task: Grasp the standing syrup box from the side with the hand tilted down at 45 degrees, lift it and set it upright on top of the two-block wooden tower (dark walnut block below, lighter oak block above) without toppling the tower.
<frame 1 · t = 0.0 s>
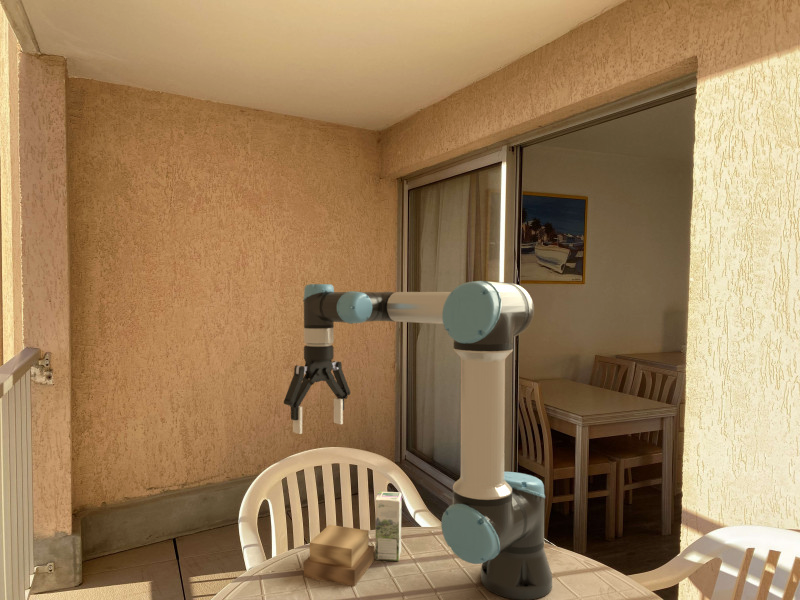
hand: (318, 428, 144), 28 cm above the table, tool pointing down, fingers open, 13 cm apart
syrup box: (388, 556, 135), on the table
oak block: (339, 553, 128), point 3 cm above the table, touching walnut block
walnut block: (339, 571, 128), on the table, touching oak block
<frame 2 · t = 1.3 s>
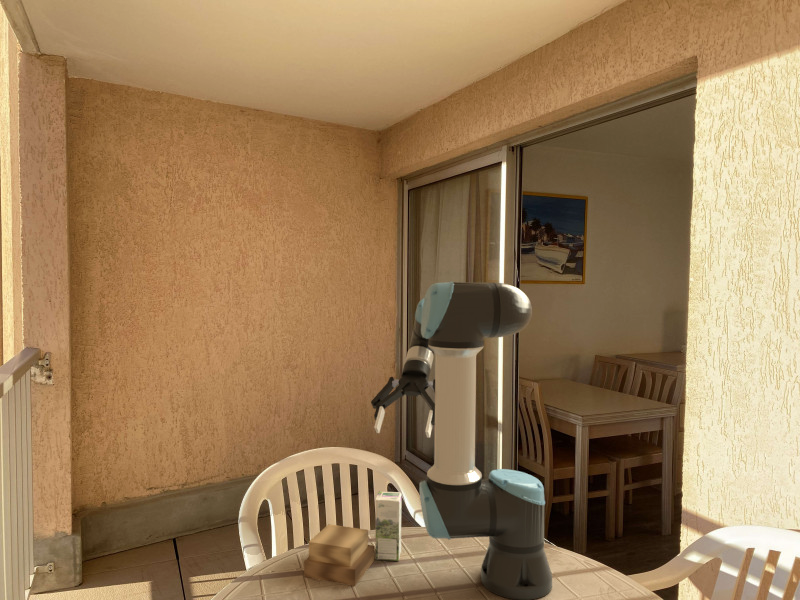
hand: (401, 432, 145), 27 cm above the table, tool tilted 45°, fingers open, 13 cm apart
nothing on the table moved.
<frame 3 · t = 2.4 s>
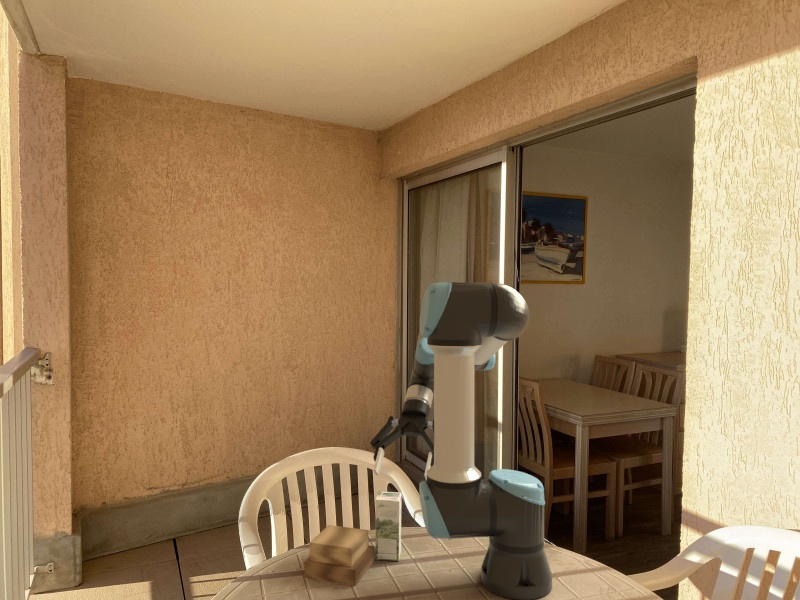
hand: (400, 475, 144), 16 cm above the table, tool tilted 45°, fingers open, 13 cm apart
nothing on the table moved.
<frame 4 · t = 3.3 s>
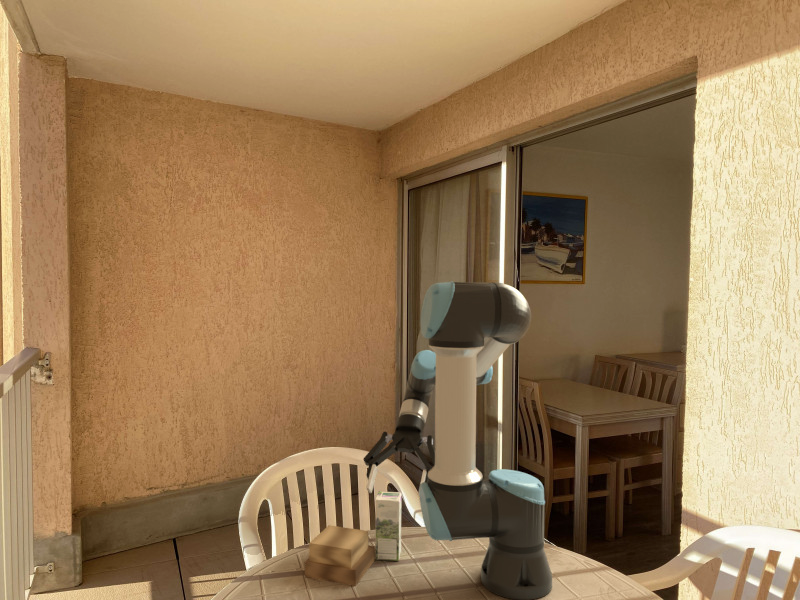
hand: (394, 493, 141), 13 cm above the table, tool tilted 45°, fingers open, 13 cm apart
oak block: (339, 554, 128), point 3 cm above the table
walnut block: (340, 571, 128), on the table
everything else where it was.
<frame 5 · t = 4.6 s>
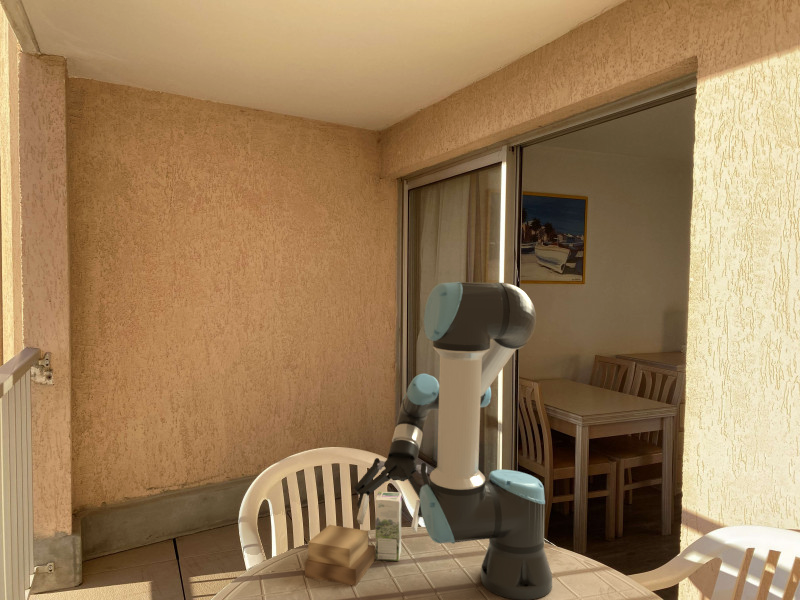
hand: (386, 525, 134), 7 cm above the table, tool tilted 45°, fingers open, 13 cm apart
oak block: (338, 553, 128), point 3 cm above the table, touching walnut block
walnut block: (340, 570, 128), on the table, touching oak block
everything else where it was.
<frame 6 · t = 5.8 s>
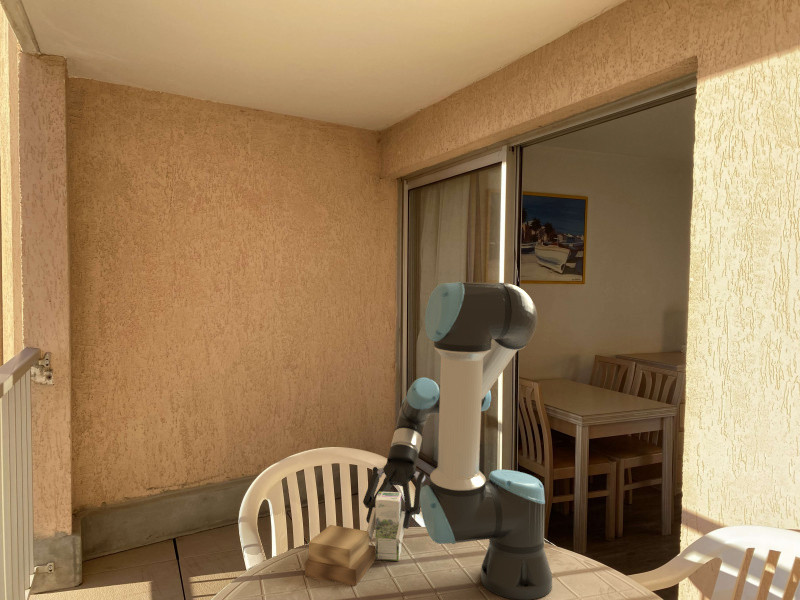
hand: (383, 538, 131), 5 cm above the table, tool tilted 45°, fingers closed on syrup box, 7 cm apart
syrup box: (388, 556, 135), on the table, touching gripper
everything else where it was.
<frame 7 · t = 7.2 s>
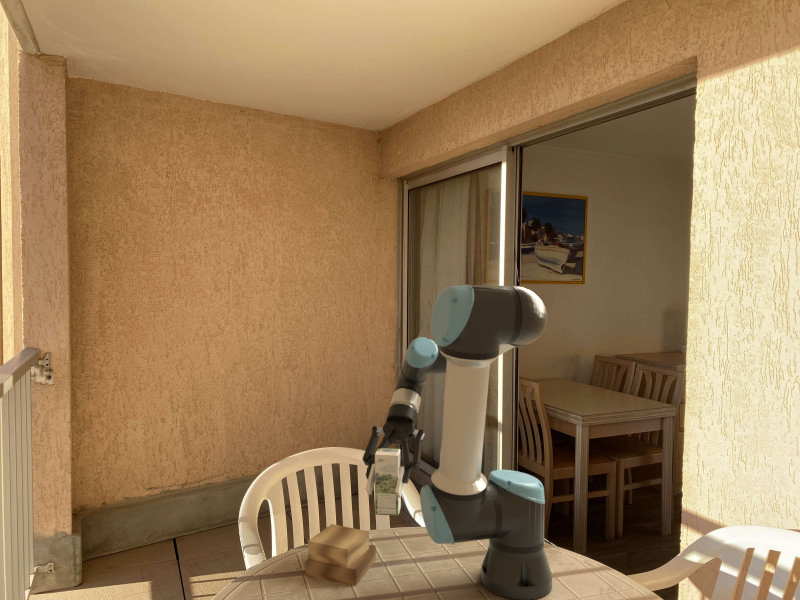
hand: (383, 493, 132), 16 cm above the table, tool tilted 45°, fingers closed on syrup box, 7 cm apart
syrup box: (388, 512, 135), point 10 cm above the table, touching gripper
oak block: (339, 553, 128), point 3 cm above the table
walnut block: (341, 570, 128), on the table
when the fingers open (15 cm above the table, at t = 10.7 s): syrup box drops 2 cm, point 8 cm above the table.
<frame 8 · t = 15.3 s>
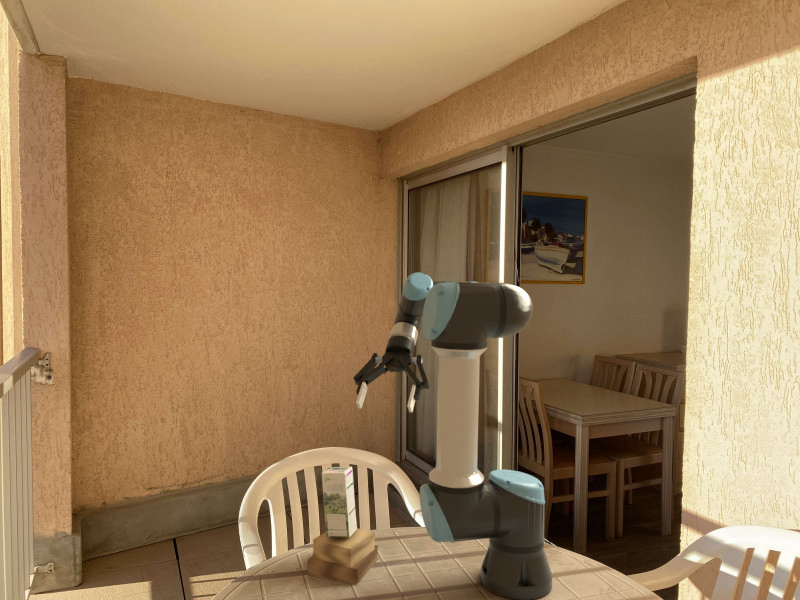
hand: (383, 407, 142), 34 cm above the table, tool tilted 45°, fingers open, 13 cm apart
syrup box: (341, 534, 129), point 8 cm above the table
oak block: (344, 553, 128), point 3 cm above the table, touching walnut block
walnut block: (343, 570, 129), on the table, touching oak block
at the end: syrup box point 7.5 cm above the table; syrup box 0.6 cm from the oak block (horizontally); oak block tilted 0° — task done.
